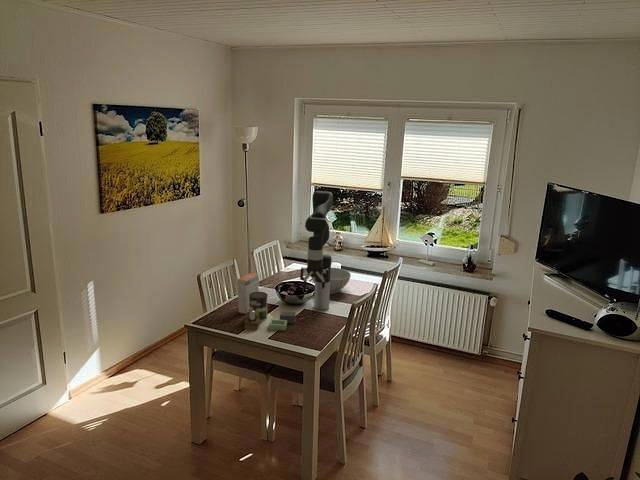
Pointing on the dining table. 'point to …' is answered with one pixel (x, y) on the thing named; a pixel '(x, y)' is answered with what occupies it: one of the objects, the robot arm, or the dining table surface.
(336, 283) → the decorative bowl
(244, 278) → the cracker box
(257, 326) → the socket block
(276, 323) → the tray
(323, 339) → the dining table surface
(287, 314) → the chock
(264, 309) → the coffee can
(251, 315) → the pin
